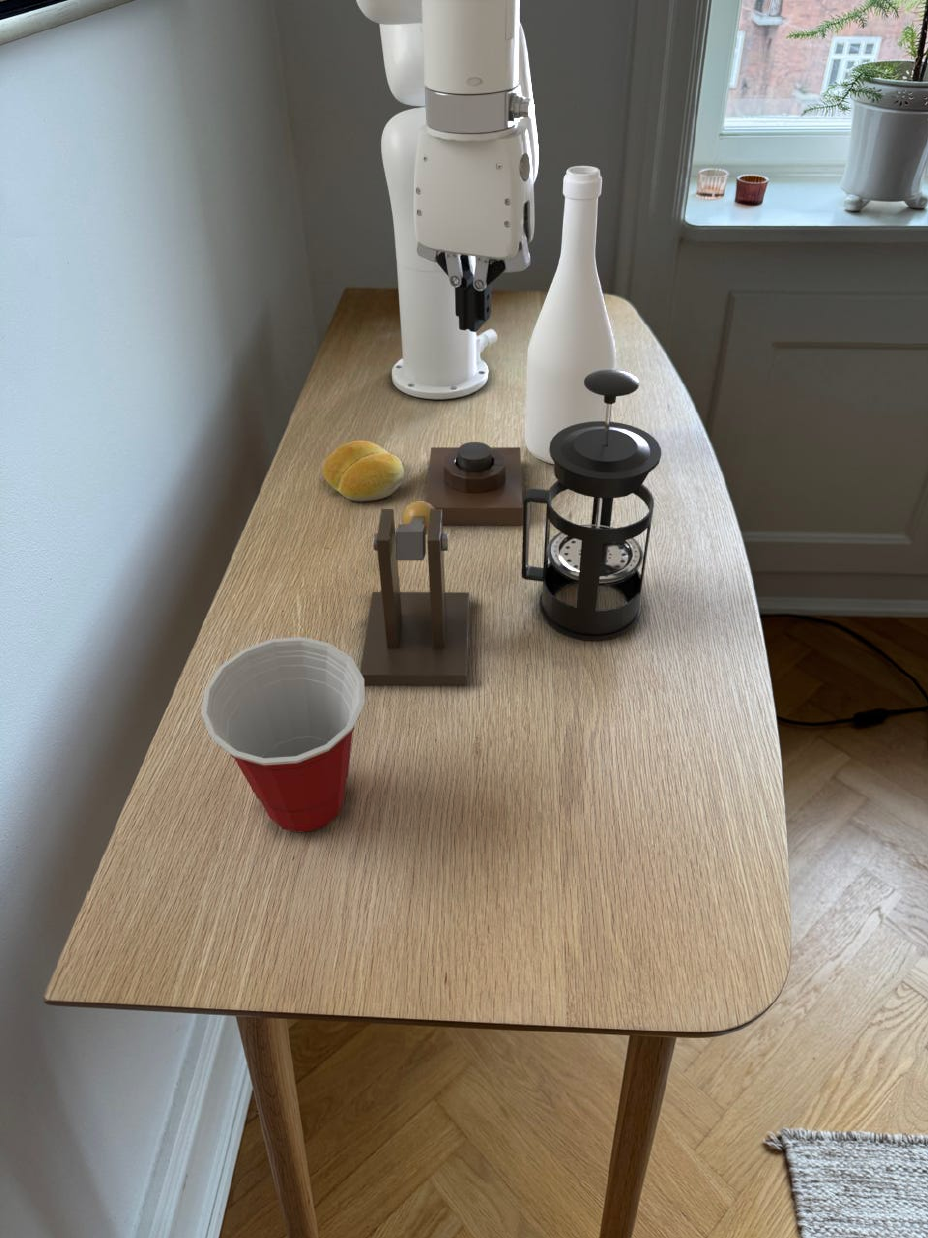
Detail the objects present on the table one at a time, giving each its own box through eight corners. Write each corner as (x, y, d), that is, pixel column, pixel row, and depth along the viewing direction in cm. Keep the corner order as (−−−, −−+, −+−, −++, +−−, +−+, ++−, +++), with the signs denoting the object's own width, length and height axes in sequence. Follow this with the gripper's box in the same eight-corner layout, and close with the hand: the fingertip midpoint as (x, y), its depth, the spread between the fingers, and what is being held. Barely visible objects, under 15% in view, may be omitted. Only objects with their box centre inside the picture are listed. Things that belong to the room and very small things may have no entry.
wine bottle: (507, 447, 107) (512, 170, 87) (561, 418, 111) (578, 150, 92) (569, 478, 101) (589, 191, 82) (623, 447, 106) (654, 169, 86)
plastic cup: (240, 882, 63) (205, 772, 55) (226, 766, 71) (194, 654, 63) (393, 844, 66) (380, 732, 58) (363, 735, 73) (348, 623, 65)
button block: (431, 464, 104) (430, 432, 101) (519, 464, 104) (520, 432, 101) (426, 525, 95) (424, 492, 92) (522, 525, 95) (523, 493, 92)
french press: (652, 583, 87) (686, 356, 72) (643, 649, 80) (680, 414, 65) (530, 567, 89) (539, 344, 74) (512, 630, 83) (518, 398, 67)
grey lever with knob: (404, 531, 86) (404, 497, 85) (438, 531, 86) (438, 497, 85) (390, 565, 74) (389, 526, 73) (429, 565, 74) (429, 526, 73)
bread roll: (360, 513, 97) (357, 481, 94) (313, 479, 102) (309, 448, 99) (421, 484, 101) (419, 453, 98) (373, 453, 106) (370, 422, 103)
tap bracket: (373, 601, 86) (361, 486, 77) (469, 602, 86) (467, 486, 77) (360, 685, 78) (345, 566, 69) (466, 685, 77) (464, 566, 69)
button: (458, 455, 98) (457, 441, 97) (491, 455, 98) (491, 441, 97) (457, 473, 96) (456, 459, 95) (491, 473, 96) (491, 459, 94)
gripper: (572, 106, 75) (560, 322, 87) (409, 93, 80) (419, 299, 92) (542, 129, 70) (533, 354, 82) (369, 113, 75) (385, 328, 87)
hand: (473, 325), depth 87 cm, fingers closed
